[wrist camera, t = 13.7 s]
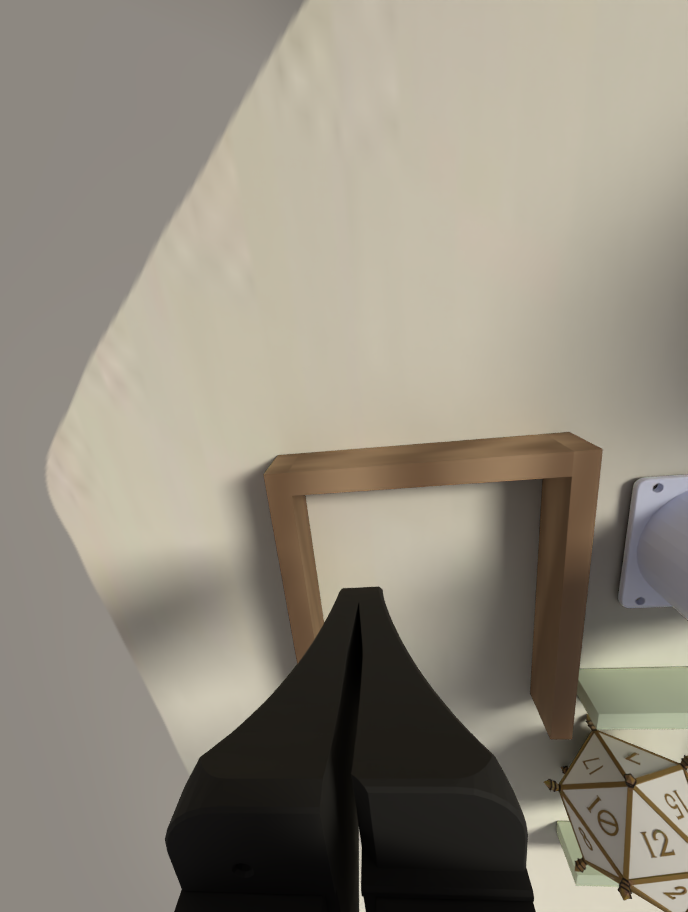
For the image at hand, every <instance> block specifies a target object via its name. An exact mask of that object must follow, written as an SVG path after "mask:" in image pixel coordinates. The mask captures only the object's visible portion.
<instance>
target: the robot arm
mask: <svg viewBox="0 0 688 912" xmlns="http://www.w3.org/2000/svg"><path fill="white" fill-rule="evenodd" d="M655 484H658V486H657V488H655V489H653V486H654V485H655ZM637 598H640V599H638V600H636V599H637ZM618 601H619V602H620V603H621V605H622V606H623V607H625V608H648V607H674V608H675V609H676V610H677V611H678V612H679V613H680V614H681V615H682V616H684V617H685V618H686V619H687V620H688V474H685V475H670V476H656V477H643V478H640V479H638V480H637V481H636V482H635V483H634V486H633V491H632V498H631V506H630V513H629V520H628V528H627V535H626V542H625V550H624V557H623V565H622V572H621V579H620V587H619V594H618ZM359 831H360V838H361V844H362V867H361V893H362V896H364V902H365V909H366V912H536V911H535V908H534V904H533V902H534V895H533V890H532V886H531V883H530V879H529V876H528V872H527V869H526V859H527V842H528V832H527V826H526V821H525V818H524V815H523V812H522V810H521V807H520V805H519V803H518V800H517V798H516V796H515V794H514V791H513V789H512V787H511V785H510V783H509V781H508V779H507V777H506V775H505V774H504V772H503V770H502V768H501V766H500V765H499V763H498V761H497V759H496V757H495V756H494V755H493V754H492V753H491V752H490V751H489V750H488V749H487V748H486V747H485V746H484V745H483V744H481V743H480V742H479V741H478V740H477V739H476V738H475V737H474V736H473V735H472V734H471V733H470V732H469V731H468V729H467V728H466V727H465V726H464V725H463V724H462V723H461V722H460V721H459V720H458V719H457V718H456V716H455V715H454V714H453V713H452V712H451V711H450V709H449V708H448V707H447V706H446V705H445V703H444V702H443V701H442V700H441V699H440V697H439V696H438V695H437V694H436V692H435V691H434V690H433V689H432V687H431V686H430V684H429V683H428V682H427V680H426V679H425V678H424V676H423V675H422V673H421V672H420V670H419V669H418V667H417V666H416V664H415V663H414V661H413V660H412V658H411V656H410V655H409V653H408V651H407V649H406V648H405V646H404V644H403V642H402V640H401V638H400V637H399V635H398V633H397V630H396V628H395V626H394V624H393V622H392V620H391V617H390V615H389V612H388V610H387V607H386V604H385V601H384V596H383V590H382V589H381V588H380V587H363V588H343V589H342V590H341V591H340V592H339V594H338V597H337V599H336V601H335V603H334V605H333V608H332V609H331V611H330V613H329V615H328V617H327V619H326V621H325V622H324V624H323V626H322V628H321V629H320V631H319V633H318V634H317V636H316V638H315V639H314V641H313V642H312V644H311V645H310V647H309V648H308V650H307V651H306V653H305V654H304V656H303V657H302V658H301V660H300V661H299V663H298V664H297V665H296V666H295V668H294V669H293V670H292V672H291V673H290V674H289V675H288V677H287V678H286V679H285V680H284V681H283V682H282V684H281V685H280V686H279V687H278V688H277V689H276V690H275V691H274V693H273V694H272V695H271V696H270V697H269V698H268V699H267V700H266V701H265V702H264V703H263V704H262V705H261V706H260V707H259V708H258V709H257V710H256V711H255V712H254V713H253V714H252V715H251V716H250V717H249V718H247V719H246V720H245V721H244V722H243V723H242V724H241V725H240V726H239V727H238V728H237V729H235V730H234V731H233V732H232V733H231V734H229V735H228V736H227V737H226V738H224V739H223V740H222V741H221V742H219V743H218V744H217V745H215V746H214V747H213V748H212V749H210V750H209V751H208V752H206V753H205V754H204V755H202V756H201V757H200V758H199V760H198V762H197V764H196V766H195V768H194V770H193V772H192V774H191V775H190V777H189V779H188V781H187V783H186V785H185V787H184V790H183V792H182V794H181V797H180V799H179V802H178V804H177V807H176V809H175V811H174V814H173V816H172V819H171V821H170V824H169V826H168V829H167V833H166V837H165V842H166V847H167V852H168V854H169V857H170V859H171V862H172V865H173V867H174V870H175V873H176V875H177V878H178V880H179V883H180V885H181V888H182V890H181V893H180V896H179V899H178V902H177V905H176V908H175V911H174V912H359Z"/></svg>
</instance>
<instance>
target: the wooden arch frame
mask: <svg viewBox="0 0 688 912" xmlns="http://www.w3.org/2000/svg"><path fill="white" fill-rule="evenodd" d="M602 451H603V449H601V448H599V447H597V446H595V445H594V444H592V443H590V442H588V441H586V440H584V439H582V438H580V437H578V436H576V435H574V434H572V433H570V432H564V433H551V434H539V435H526V436H514V437H501V438H488V439H476V440H463V441H451V442H438V443H426V444H413V445H400V446H388V447H375V448H363V449H350V450H338V451H325V452H312V453H300V454H287V455H278V456H277V457H276V458H275V460H274V461H273V462H272V464H271V465H270V466H269V468H268V469H267V471H266V472H265V473H264V480H265V486H266V492H267V497H268V503H269V508H270V514H271V519H272V525H273V531H274V536H275V542H276V547H277V553H278V558H279V564H280V570H281V575H282V581H283V586H284V592H285V597H286V603H287V609H288V614H289V620H290V625H291V631H292V636H293V642H294V648H295V653H296V659H297V664H298V663H299V661H300V660H301V658H302V657H303V656H304V654H305V653H306V651H307V650H308V648H309V647H310V645H311V644H312V642H313V641H314V639H315V638H316V636H317V634H318V633H319V631H320V629H321V628H322V626H323V624H324V620H323V613H322V606H321V599H320V592H319V586H318V579H317V572H316V565H315V558H314V551H313V545H312V538H311V531H310V524H309V517H308V510H307V504H306V497H305V495H310V494H325V493H339V492H354V491H368V490H383V489H397V488H412V487H426V486H441V485H456V484H470V483H485V482H499V481H514V480H528V479H543V480H542V498H541V515H540V532H539V550H538V567H537V584H536V602H535V619H534V636H533V654H532V671H531V688H530V694H531V696H532V699H533V701H534V703H535V705H536V708H537V710H538V712H539V715H540V717H541V719H542V721H543V724H544V726H545V728H546V731H547V733H548V735H549V737H550V739H572V733H573V724H574V715H575V705H576V696H577V686H578V677H579V668H580V658H581V649H582V639H583V630H584V620H585V611H586V602H587V592H588V583H589V573H590V564H591V554H592V545H593V536H594V526H595V517H596V507H597V498H598V489H599V479H600V470H601V460H602Z"/></svg>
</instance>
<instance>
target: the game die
mask: <svg viewBox="0 0 688 912" xmlns="http://www.w3.org/2000/svg"><path fill="white" fill-rule="evenodd" d="M586 722H587V724H588V726H589V727H590V728H591V733H590V735H589V736H588V738H587V739H586V741H585V743H584V744H583V746H582V748H581V749H580V751H579V752H578V754H577V756H576V757H575V759H574V760H573V762H572V764H571V765H570V767H569V768H568V766H564V767H561V769H562V771H563V772H562V773H564V774H565V775H564V776H563V778H562V780H561V781H560V783H559V784H557V783H556V781H552V780H551V779H548V780H547V781H544V783H545V785H546V786H547V787H548V788H549V790H550V791H551V790H553V791H554V792H555V791H559V793H560V795H561V798H562V801H563V804H564V807H565V809H566V812H567V815H568V818H569V821H570V823H571V826H572V829H573V832H574V835H575V837H576V840H577V843H578V846H579V849H580V851H581V854H582V858H581V859H579V858H577V859H578V860H577V861H575V871H577V872H582V873H583V871H584V870H586V865H589V866H590V867H592V868H594V869H595V870H597V871H599V872H600V873H602V874H604V875H605V876H607V877H608V878H610V879H612V880H613V881H615V882H617V883H618V884H619V888H618V891H619V892H620V894H621V896H622V898H623V900H626V899H632V897H631V894H632V892H633V893H635V894H636V895H638V896H640V897H641V898H643V899H644V900H646V901H648V902H649V903H651V904H653V905H654V906H656V907H658V908H659V909H661V910H662V911H664V912H688V773H687V771H686V770H687V769H688V756H685V755H684V758H682V759H681V760H682V761H681V763H677V762H675V761H672V760H670V759H668V758H665V757H663V756H660V755H658V754H655V753H653V752H650V751H648V750H645V749H643V748H640V747H638V746H636V745H633V744H631V743H628V742H626V741H623V740H621V739H618V738H616V737H613V736H611V735H608V734H606V733H604V732H601V731H599V730H597V729H596V727H595V726H594V724H593V722H592V720H591V719H590V717H589V715H588V714H587V719H586Z"/></svg>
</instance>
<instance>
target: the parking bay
mask: <svg viewBox="0 0 688 912" xmlns="http://www.w3.org/2000/svg"><path fill="white" fill-rule="evenodd" d="M577 695H578V697H579V699H580V701H581V703H582V704H583V706H584V708H585V710H586V711H587V713H588V715H589V717H590V719H591V720H592V722H593V724H594V726H595V727H596V729H597V730H615V729H688V667H655V668H610V669H579V677H578V686H577ZM556 832H557V835H558V838H559V840H560V843H561V846H562V849H563V851H564V854H565V857H566V859H567V862H568V865H569V868H570V870H571V873H572V876H573V878H574V881H575V884H576V886H604V887H619V884H618V883H617V882H615V881H613V880H612V879H610V878H608V877H607V876H605V875H604V874H602V873H600V872H599V871H597V870H595V869H594V868H592V867H590V866H589V865H586V870H584V871H583V873H582V872H577V871H575V861H577V860H578V859H577V858H579V859H581V858H582V854H581V851H580V849H579V846H578V843H577V840H576V837H575V835H574V832H573V829H572V826H571V823H570V821H557V829H556Z"/></svg>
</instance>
